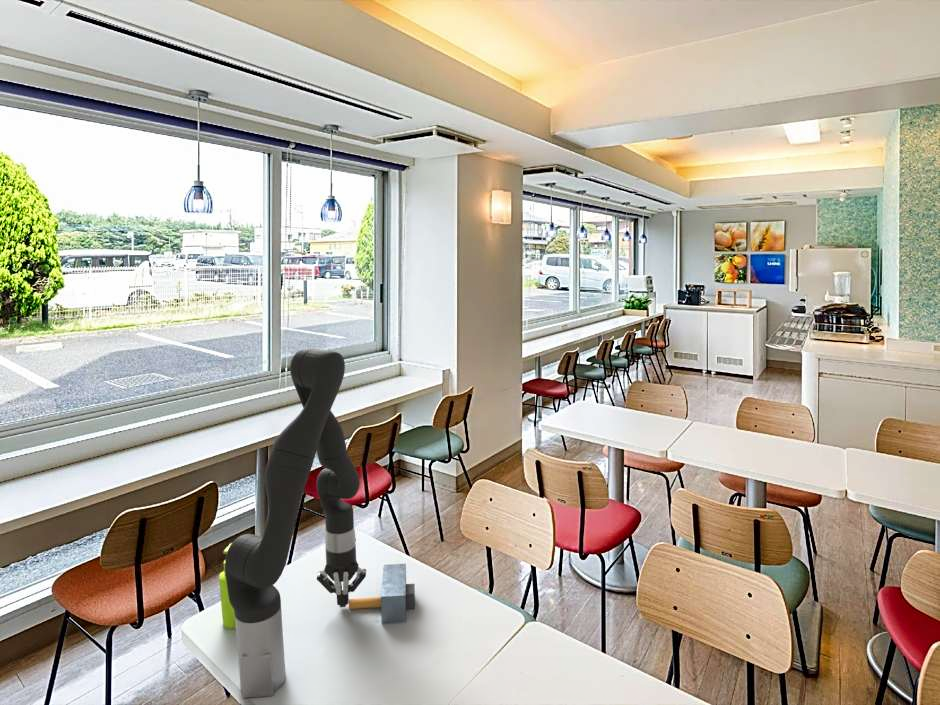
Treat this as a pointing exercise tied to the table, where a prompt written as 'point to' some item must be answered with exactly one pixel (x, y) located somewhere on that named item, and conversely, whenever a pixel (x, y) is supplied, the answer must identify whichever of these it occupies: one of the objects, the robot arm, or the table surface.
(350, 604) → the hammer
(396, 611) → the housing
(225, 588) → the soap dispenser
